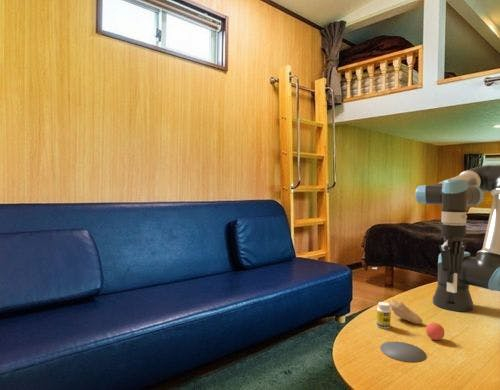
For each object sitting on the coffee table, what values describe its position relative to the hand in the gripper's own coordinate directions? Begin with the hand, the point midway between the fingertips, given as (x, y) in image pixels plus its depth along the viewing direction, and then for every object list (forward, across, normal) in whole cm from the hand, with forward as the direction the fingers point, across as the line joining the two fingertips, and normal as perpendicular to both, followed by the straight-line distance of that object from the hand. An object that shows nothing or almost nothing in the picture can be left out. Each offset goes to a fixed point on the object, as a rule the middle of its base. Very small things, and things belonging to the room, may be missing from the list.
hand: (451, 291), depth 122 cm
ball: (+12, -9, 0) cm, 15 cm away
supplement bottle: (+15, -15, +16) cm, 27 cm away
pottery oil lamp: (+15, -3, +15) cm, 22 cm away
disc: (+15, -26, 0) cm, 30 cm away
